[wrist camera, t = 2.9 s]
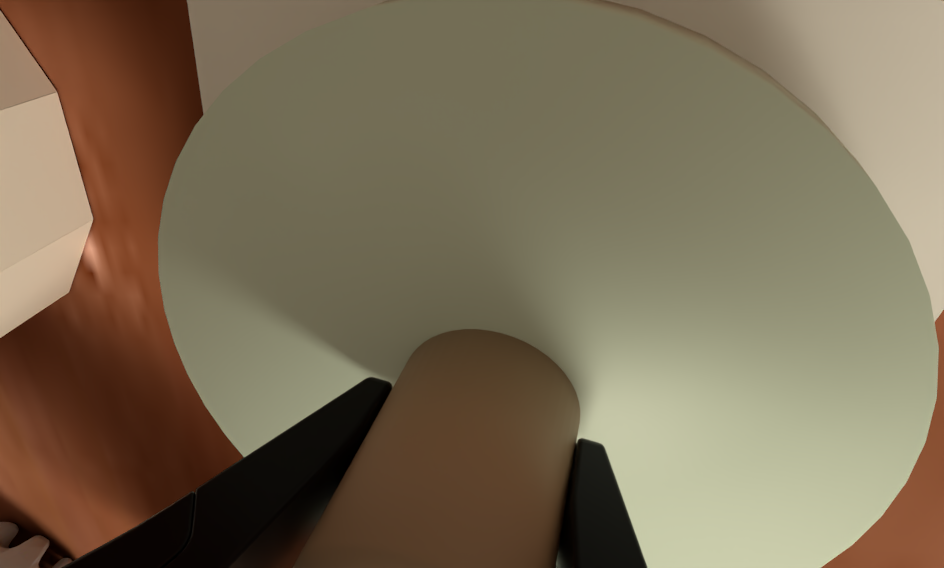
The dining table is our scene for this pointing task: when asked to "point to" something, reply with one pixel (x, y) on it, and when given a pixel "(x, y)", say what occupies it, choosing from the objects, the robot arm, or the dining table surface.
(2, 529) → the bottle
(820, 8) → the mat
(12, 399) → the dining table surface
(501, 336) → the lid
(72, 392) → the dining table surface
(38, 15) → the dining table surface
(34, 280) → the bowl
